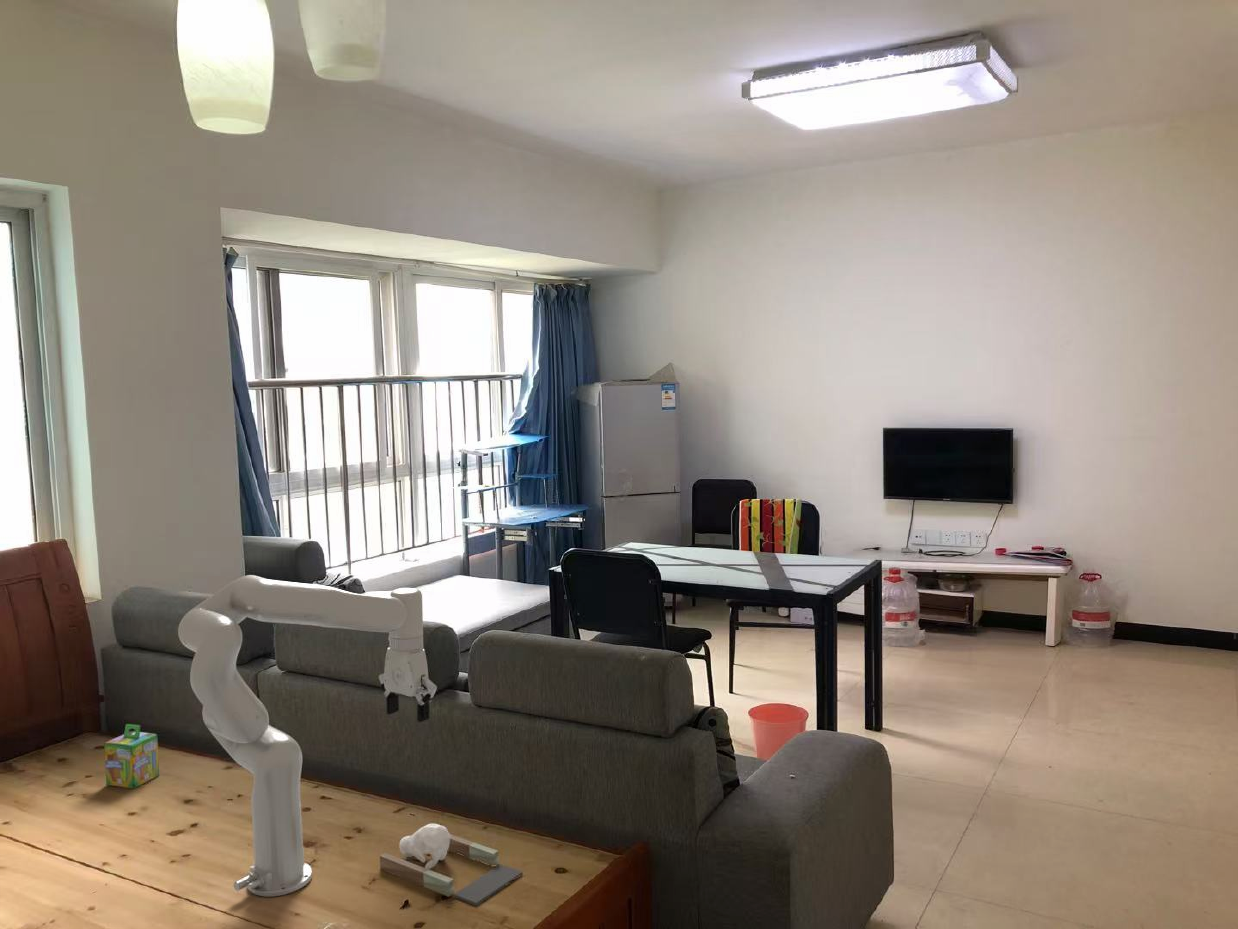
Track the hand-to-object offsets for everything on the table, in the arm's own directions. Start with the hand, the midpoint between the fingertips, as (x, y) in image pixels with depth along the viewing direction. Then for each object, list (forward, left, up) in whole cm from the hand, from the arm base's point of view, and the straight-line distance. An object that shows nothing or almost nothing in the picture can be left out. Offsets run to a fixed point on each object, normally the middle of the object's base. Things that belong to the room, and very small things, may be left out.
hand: (407, 716), depth 218 cm
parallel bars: (-9, -18, -27) cm, 34 cm away
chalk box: (-20, +83, -27) cm, 89 cm away
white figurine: (-9, -13, -27) cm, 31 cm away
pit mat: (-9, -32, -27) cm, 43 cm away
